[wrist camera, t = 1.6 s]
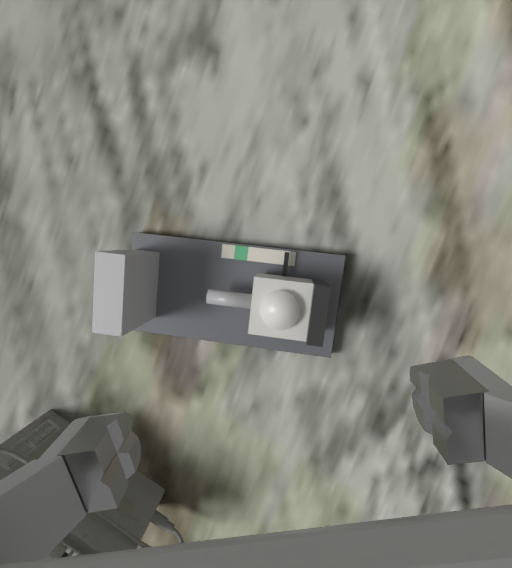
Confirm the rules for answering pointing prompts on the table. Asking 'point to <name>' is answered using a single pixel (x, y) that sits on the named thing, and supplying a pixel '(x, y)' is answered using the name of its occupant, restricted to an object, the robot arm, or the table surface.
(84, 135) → the table surface
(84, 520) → the geiger counter
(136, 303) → the stand
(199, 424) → the table surface
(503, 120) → the table surface
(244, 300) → the white domed block
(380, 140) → the table surface
